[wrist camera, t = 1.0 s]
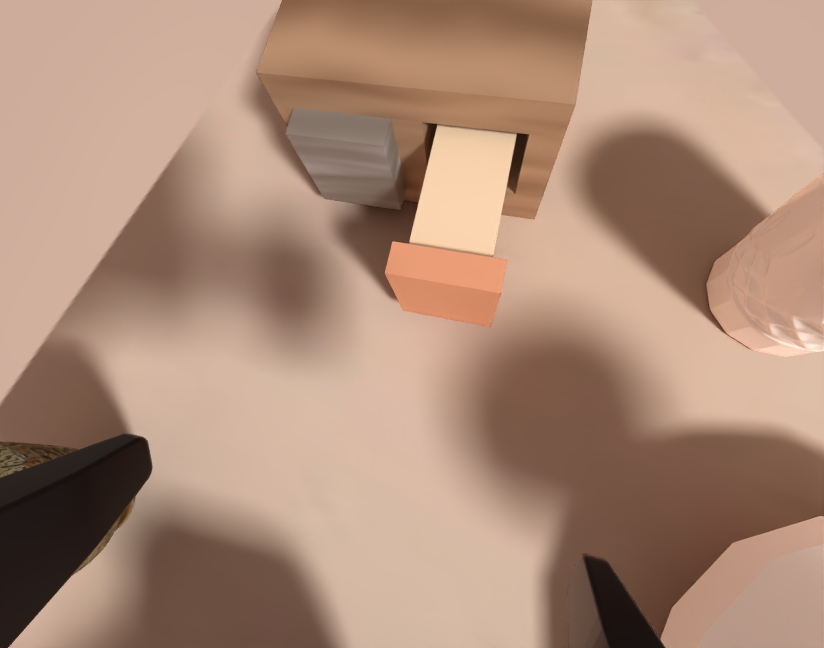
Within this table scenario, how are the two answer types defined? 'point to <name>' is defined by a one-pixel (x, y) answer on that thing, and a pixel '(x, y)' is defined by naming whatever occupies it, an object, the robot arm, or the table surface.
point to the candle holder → (757, 594)
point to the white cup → (776, 279)
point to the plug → (456, 229)
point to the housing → (422, 88)
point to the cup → (22, 455)
